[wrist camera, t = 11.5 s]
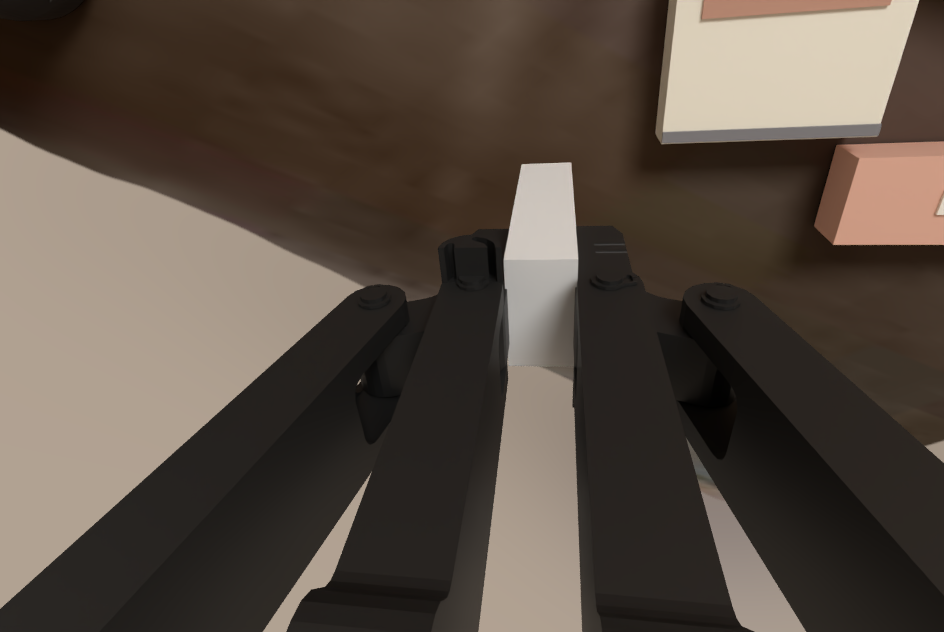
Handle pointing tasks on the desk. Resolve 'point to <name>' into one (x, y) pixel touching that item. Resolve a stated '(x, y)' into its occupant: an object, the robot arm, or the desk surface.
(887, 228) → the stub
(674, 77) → the cream block with stripe
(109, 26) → the desk surface
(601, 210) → the desk surface
